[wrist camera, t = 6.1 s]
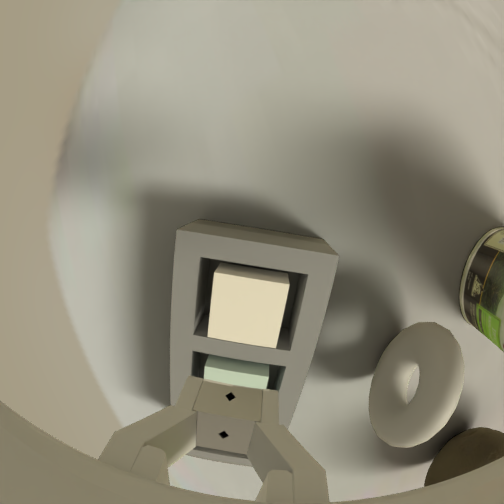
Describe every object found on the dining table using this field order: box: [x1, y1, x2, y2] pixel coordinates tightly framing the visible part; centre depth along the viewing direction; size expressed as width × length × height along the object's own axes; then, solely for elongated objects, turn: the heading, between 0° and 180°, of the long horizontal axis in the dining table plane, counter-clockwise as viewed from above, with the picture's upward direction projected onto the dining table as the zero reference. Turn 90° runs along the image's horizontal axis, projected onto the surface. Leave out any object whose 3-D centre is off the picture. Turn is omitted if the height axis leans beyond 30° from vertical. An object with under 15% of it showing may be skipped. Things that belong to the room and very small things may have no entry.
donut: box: [369, 322, 464, 448], centre depth 17 cm, size 10×4×10 cm, turn 163°
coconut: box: [424, 427, 504, 487], centre depth 17 cm, size 14×14×15 cm
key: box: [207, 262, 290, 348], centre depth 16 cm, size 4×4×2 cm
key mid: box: [204, 354, 269, 389], centre depth 18 cm, size 4×4×2 cm
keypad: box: [170, 219, 339, 467], centre depth 20 cm, size 20×9×5 cm, turn 172°
